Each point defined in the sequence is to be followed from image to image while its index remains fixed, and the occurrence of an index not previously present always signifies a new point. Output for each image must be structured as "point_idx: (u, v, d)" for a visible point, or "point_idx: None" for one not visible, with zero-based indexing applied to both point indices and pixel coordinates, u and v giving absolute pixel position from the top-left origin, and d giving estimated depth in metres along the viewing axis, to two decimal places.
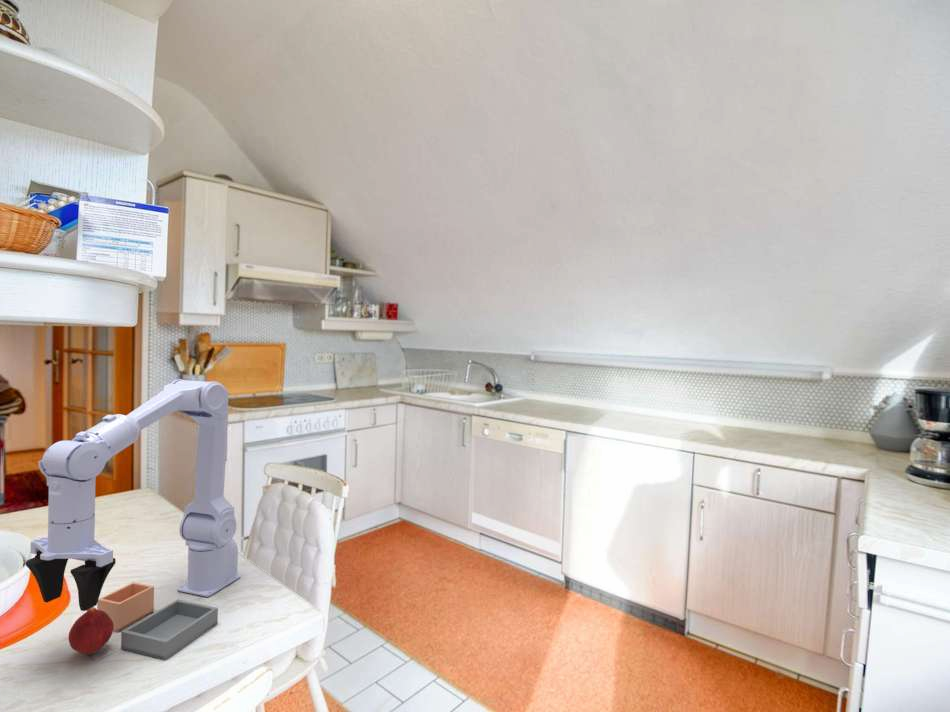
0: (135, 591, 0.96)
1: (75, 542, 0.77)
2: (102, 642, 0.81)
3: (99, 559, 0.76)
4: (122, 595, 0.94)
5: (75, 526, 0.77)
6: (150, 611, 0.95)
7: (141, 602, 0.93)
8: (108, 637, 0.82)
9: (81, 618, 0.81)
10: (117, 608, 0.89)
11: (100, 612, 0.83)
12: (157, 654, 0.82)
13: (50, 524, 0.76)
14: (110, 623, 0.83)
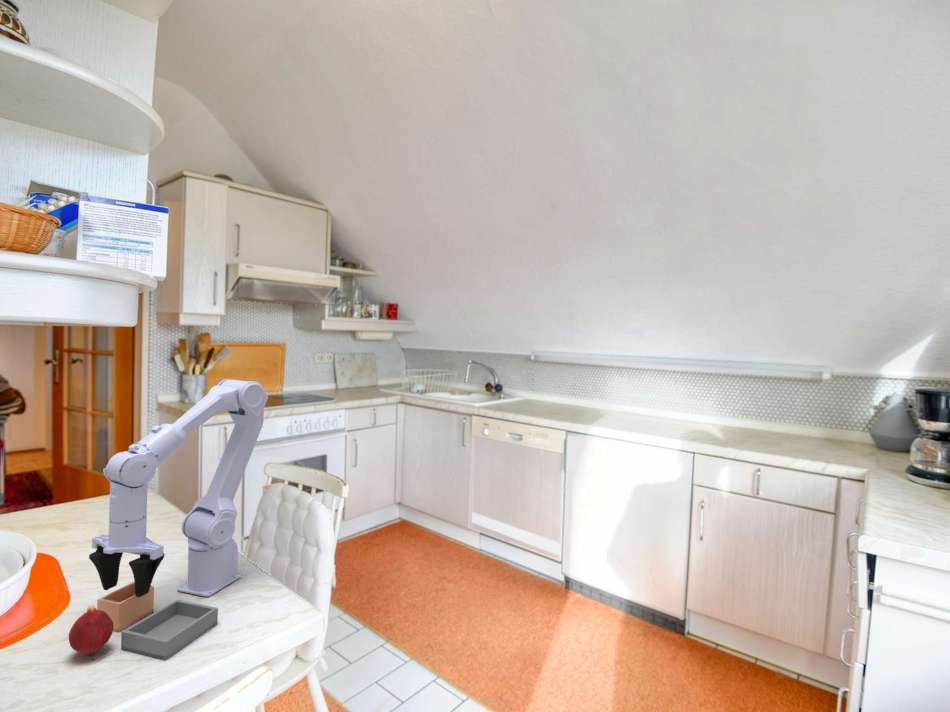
0: None
1: (132, 538, 0.90)
2: (102, 642, 0.81)
3: (152, 553, 0.89)
4: (122, 595, 0.94)
5: (132, 525, 0.90)
6: (150, 611, 0.95)
7: (141, 602, 0.93)
8: (108, 637, 0.82)
9: (81, 618, 0.81)
10: (117, 608, 0.89)
11: (100, 612, 0.83)
12: (157, 654, 0.82)
13: (111, 523, 0.90)
14: (110, 623, 0.83)
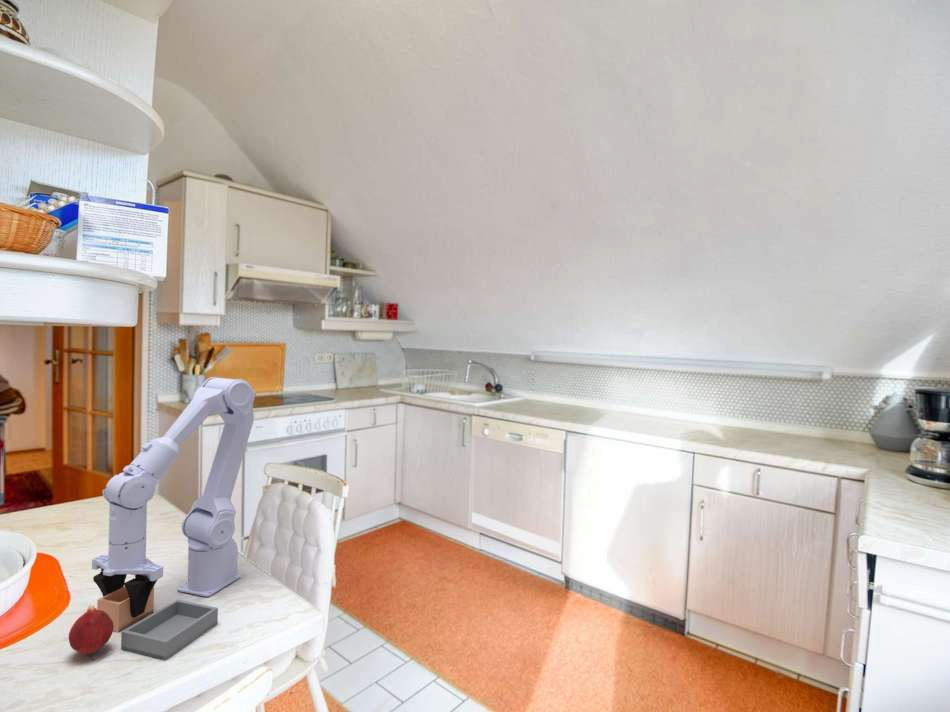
0: None
1: (132, 560, 0.90)
2: (102, 642, 0.81)
3: (152, 574, 0.90)
4: (122, 595, 0.94)
5: (131, 546, 0.90)
6: (150, 611, 0.95)
7: None
8: (108, 637, 0.82)
9: (81, 618, 0.81)
10: (117, 608, 0.89)
11: (100, 612, 0.83)
12: (157, 654, 0.82)
13: (111, 545, 0.90)
14: (110, 623, 0.83)
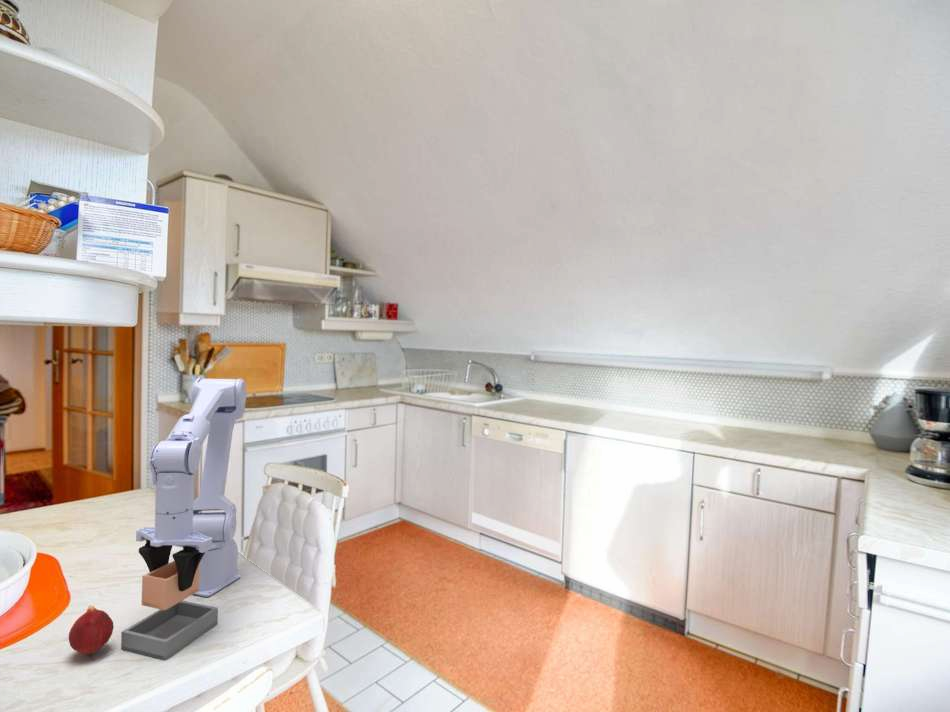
0: None
1: (180, 530, 0.86)
2: (102, 642, 0.81)
3: (202, 546, 0.85)
4: (166, 573, 0.89)
5: (179, 516, 0.86)
6: (195, 590, 0.90)
7: None
8: (108, 637, 0.82)
9: (81, 618, 0.81)
10: (164, 585, 0.84)
11: (100, 612, 0.83)
12: (157, 654, 0.82)
13: (158, 514, 0.85)
14: (110, 623, 0.83)
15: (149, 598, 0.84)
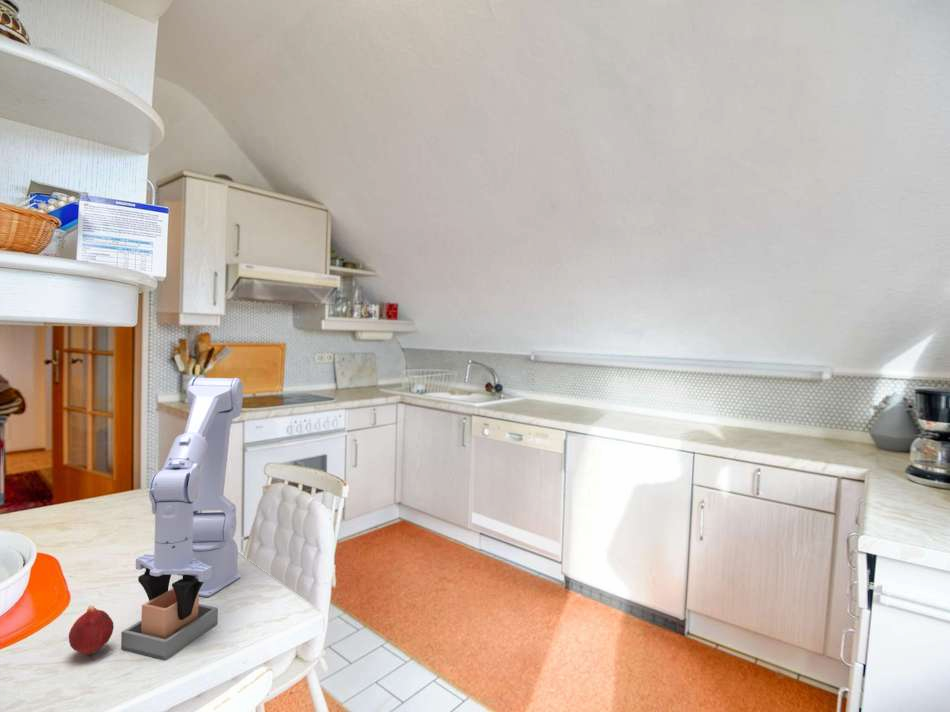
0: None
1: (179, 559, 0.86)
2: (102, 642, 0.81)
3: (201, 575, 0.85)
4: (166, 600, 0.89)
5: (179, 545, 0.86)
6: (195, 617, 0.90)
7: None
8: (108, 637, 0.82)
9: (81, 618, 0.81)
10: (163, 614, 0.84)
11: (100, 612, 0.83)
12: (157, 654, 0.82)
13: (157, 544, 0.85)
14: (110, 623, 0.83)
15: (149, 627, 0.84)
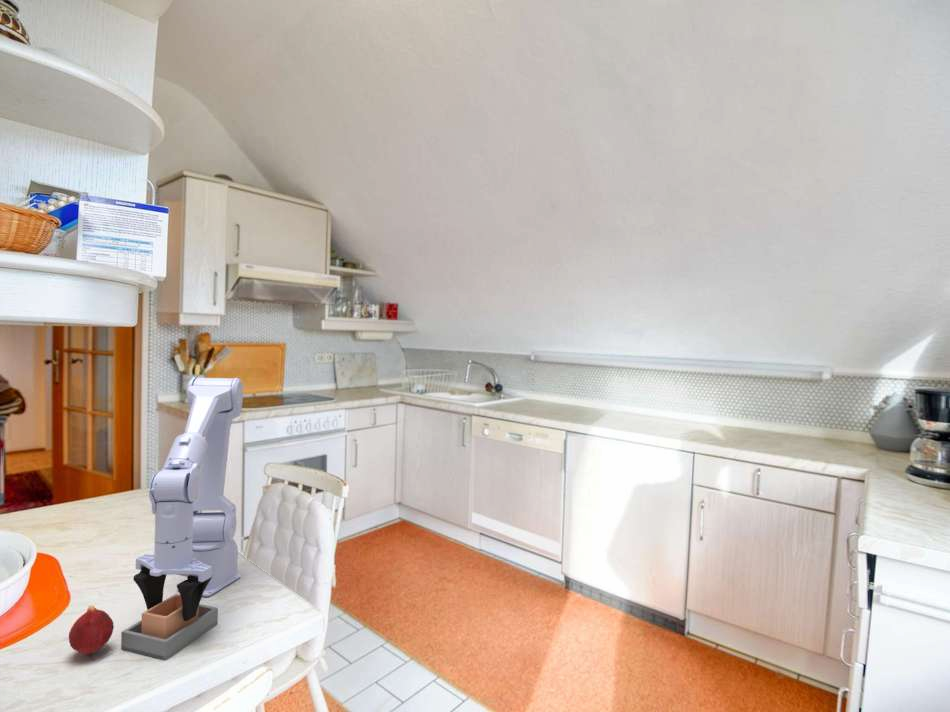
0: (178, 603, 0.91)
1: (179, 559, 0.86)
2: (102, 642, 0.81)
3: (201, 575, 0.85)
4: (166, 608, 0.89)
5: (179, 545, 0.86)
6: None
7: None
8: (108, 637, 0.82)
9: (81, 618, 0.81)
10: (163, 622, 0.84)
11: (100, 612, 0.83)
12: (157, 654, 0.82)
13: (157, 544, 0.85)
14: (110, 623, 0.83)
15: (149, 635, 0.84)
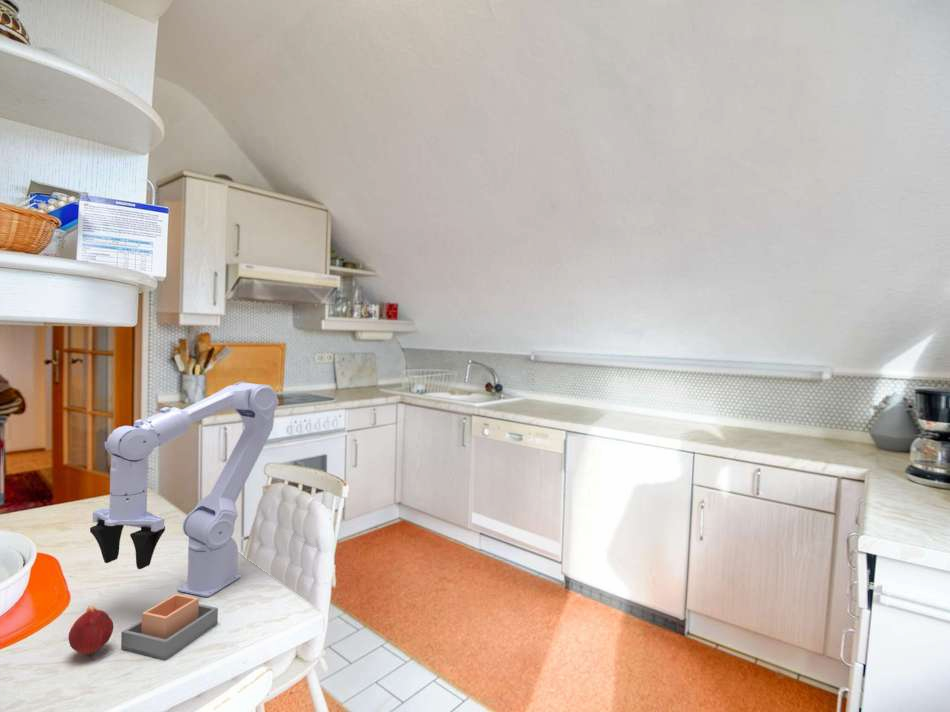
0: (178, 603, 0.91)
1: (133, 511, 0.91)
2: (102, 642, 0.81)
3: (154, 525, 0.91)
4: (166, 608, 0.89)
5: (133, 498, 0.91)
6: None
7: (186, 615, 0.88)
8: (108, 637, 0.82)
9: (81, 618, 0.81)
10: (163, 622, 0.84)
11: (100, 612, 0.83)
12: (157, 654, 0.82)
13: (112, 496, 0.90)
14: (110, 623, 0.83)
15: (149, 635, 0.84)
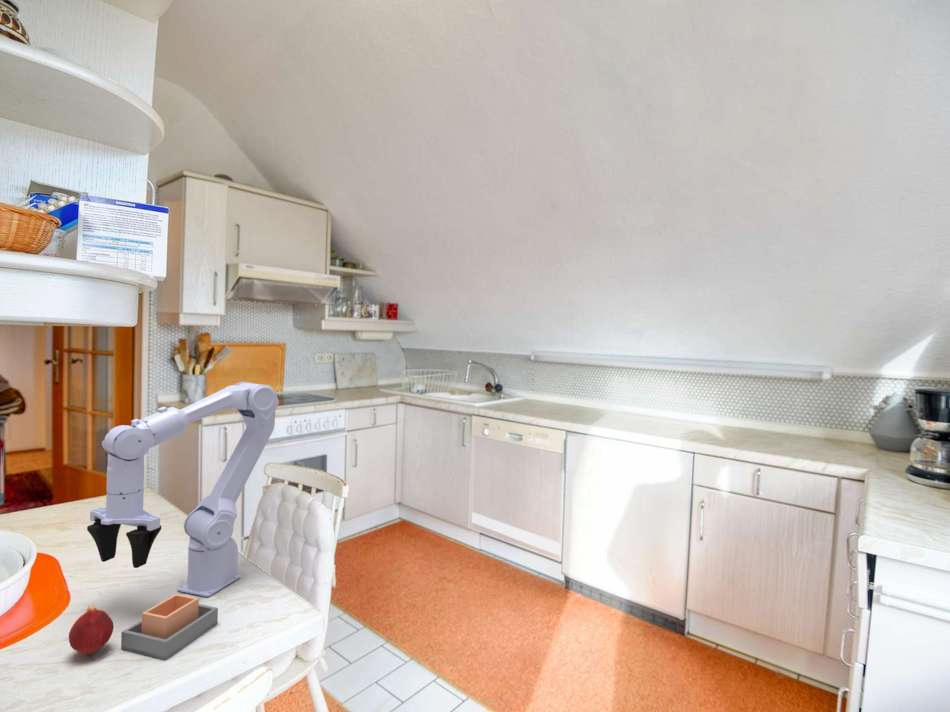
0: (178, 603, 0.91)
1: (129, 510, 0.92)
2: (102, 642, 0.81)
3: (149, 524, 0.91)
4: (166, 608, 0.89)
5: (129, 497, 0.92)
6: None
7: (186, 615, 0.88)
8: (108, 637, 0.82)
9: (81, 618, 0.81)
10: (163, 622, 0.84)
11: (100, 612, 0.83)
12: (157, 654, 0.82)
13: (108, 495, 0.91)
14: (110, 623, 0.83)
15: (149, 635, 0.84)
